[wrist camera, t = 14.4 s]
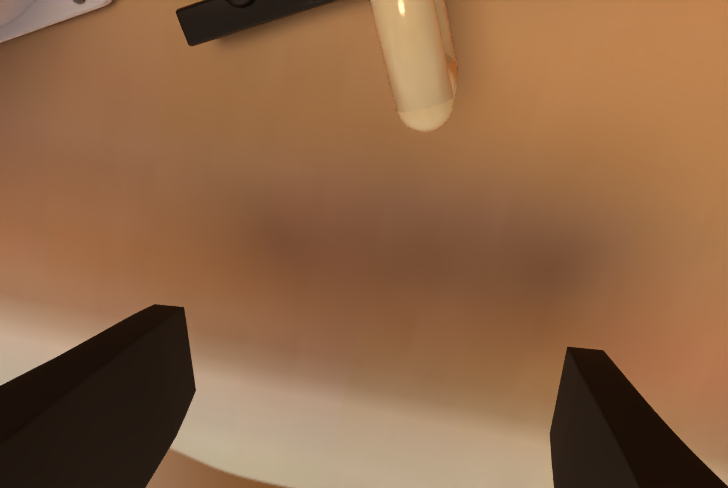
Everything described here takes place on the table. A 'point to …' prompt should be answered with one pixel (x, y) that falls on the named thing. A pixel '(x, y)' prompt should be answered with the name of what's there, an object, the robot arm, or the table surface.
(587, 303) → the table surface
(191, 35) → the rack
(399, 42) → the beige mug
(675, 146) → the table surface
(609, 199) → the table surface
